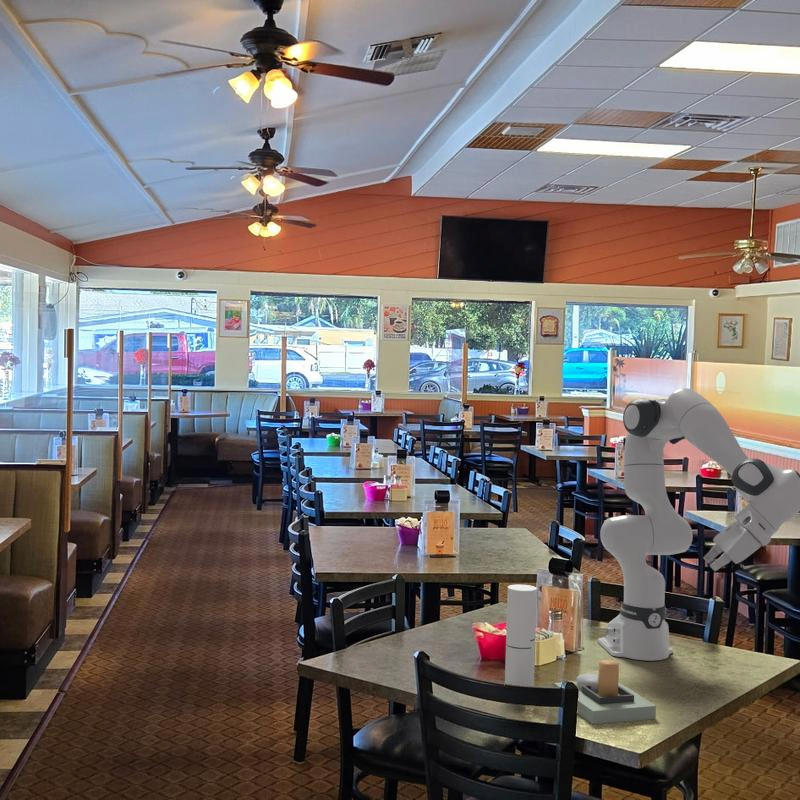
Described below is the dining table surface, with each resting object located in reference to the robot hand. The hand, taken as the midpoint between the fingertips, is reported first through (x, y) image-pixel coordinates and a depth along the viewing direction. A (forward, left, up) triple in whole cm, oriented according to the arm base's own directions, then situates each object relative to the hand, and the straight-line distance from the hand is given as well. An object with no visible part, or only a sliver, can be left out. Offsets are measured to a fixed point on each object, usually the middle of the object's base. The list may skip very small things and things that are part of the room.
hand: (708, 564), depth 236 cm
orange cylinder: (-1, -25, -30) cm, 40 cm away
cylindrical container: (-20, -39, -34) cm, 55 cm away
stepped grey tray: (-3, -25, -33) cm, 42 cm away
